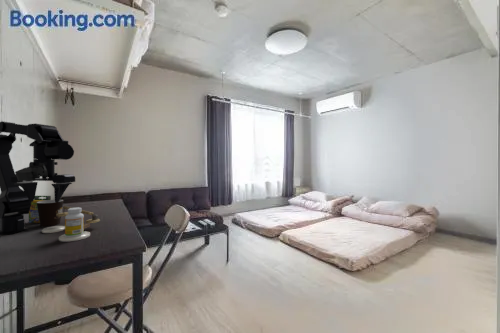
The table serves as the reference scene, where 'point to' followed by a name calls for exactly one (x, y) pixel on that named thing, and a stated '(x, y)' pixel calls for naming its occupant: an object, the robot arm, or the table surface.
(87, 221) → the balance
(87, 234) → the dish low
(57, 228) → the dish high
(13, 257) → the table surface
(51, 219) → the coffee mug
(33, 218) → the crayon box
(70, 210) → the supplement bottle
